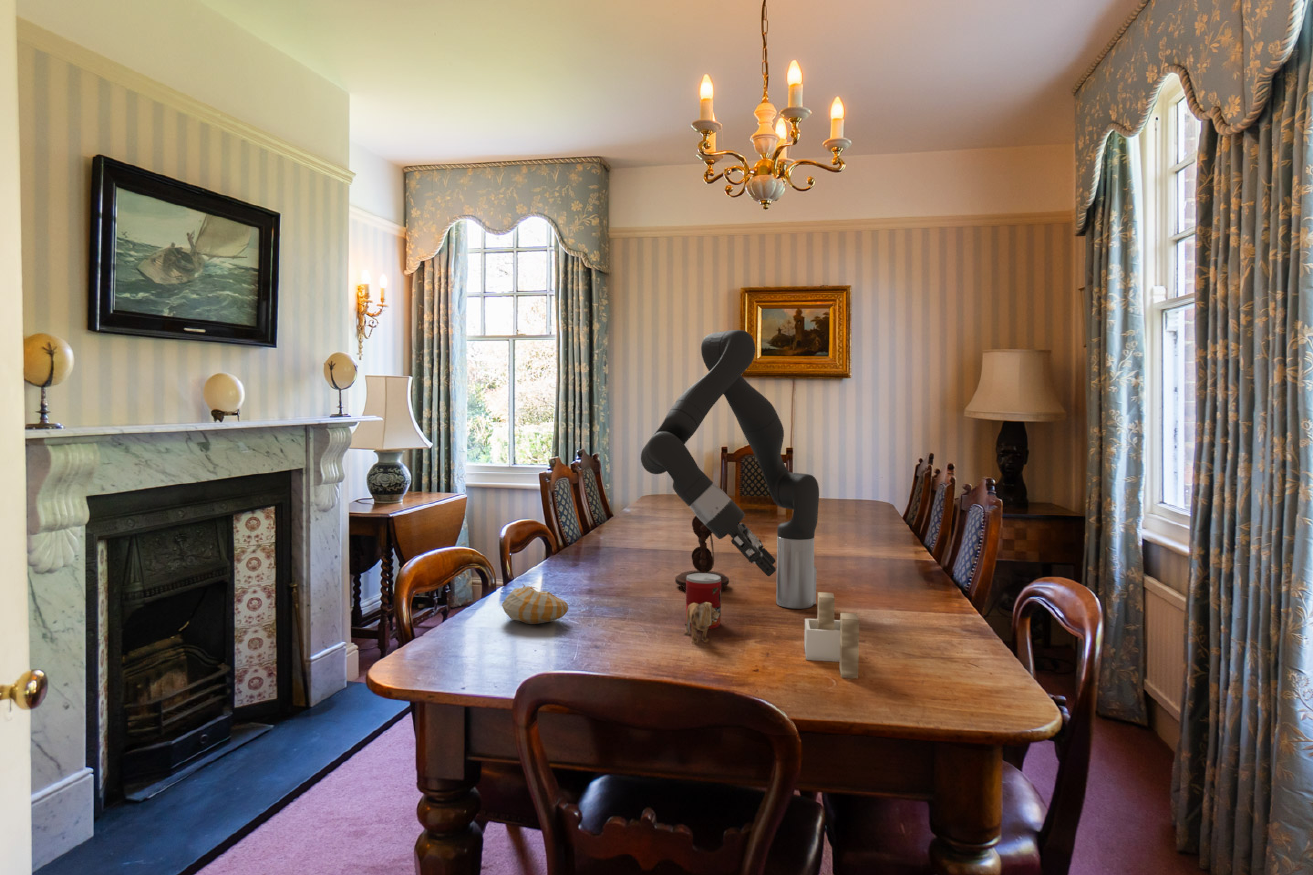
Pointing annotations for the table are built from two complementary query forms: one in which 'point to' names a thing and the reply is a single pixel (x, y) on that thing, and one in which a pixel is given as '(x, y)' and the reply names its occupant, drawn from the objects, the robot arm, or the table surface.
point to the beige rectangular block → (849, 645)
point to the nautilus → (534, 606)
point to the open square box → (822, 642)
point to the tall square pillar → (825, 611)
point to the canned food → (704, 592)
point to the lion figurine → (700, 619)
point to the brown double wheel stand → (701, 556)
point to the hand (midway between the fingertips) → (772, 568)
